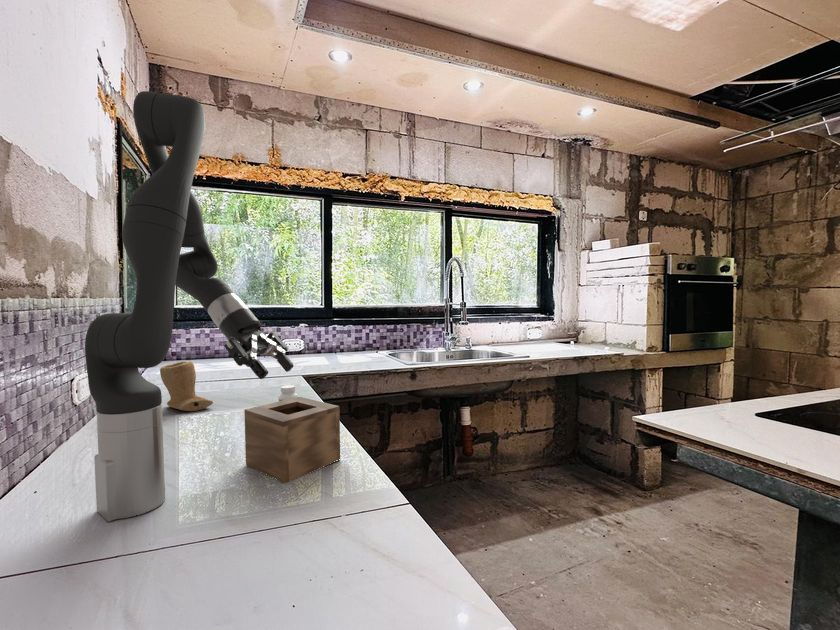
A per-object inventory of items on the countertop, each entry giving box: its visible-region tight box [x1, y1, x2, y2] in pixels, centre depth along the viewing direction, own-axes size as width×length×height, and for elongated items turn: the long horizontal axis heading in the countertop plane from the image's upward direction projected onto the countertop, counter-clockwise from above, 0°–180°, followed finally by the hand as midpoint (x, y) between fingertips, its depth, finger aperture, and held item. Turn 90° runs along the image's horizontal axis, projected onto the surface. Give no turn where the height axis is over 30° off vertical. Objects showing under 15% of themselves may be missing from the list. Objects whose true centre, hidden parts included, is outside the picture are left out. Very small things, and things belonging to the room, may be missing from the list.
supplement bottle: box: [278, 384, 299, 402], centre depth 123 cm, size 5×5×10 cm
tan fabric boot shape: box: [159, 360, 214, 412], centre depth 135 cm, size 15×12×15 cm
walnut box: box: [243, 396, 341, 484], centre depth 91 cm, size 14×14×12 cm
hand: (278, 372), depth 91 cm, fingers open, 8 cm apart
